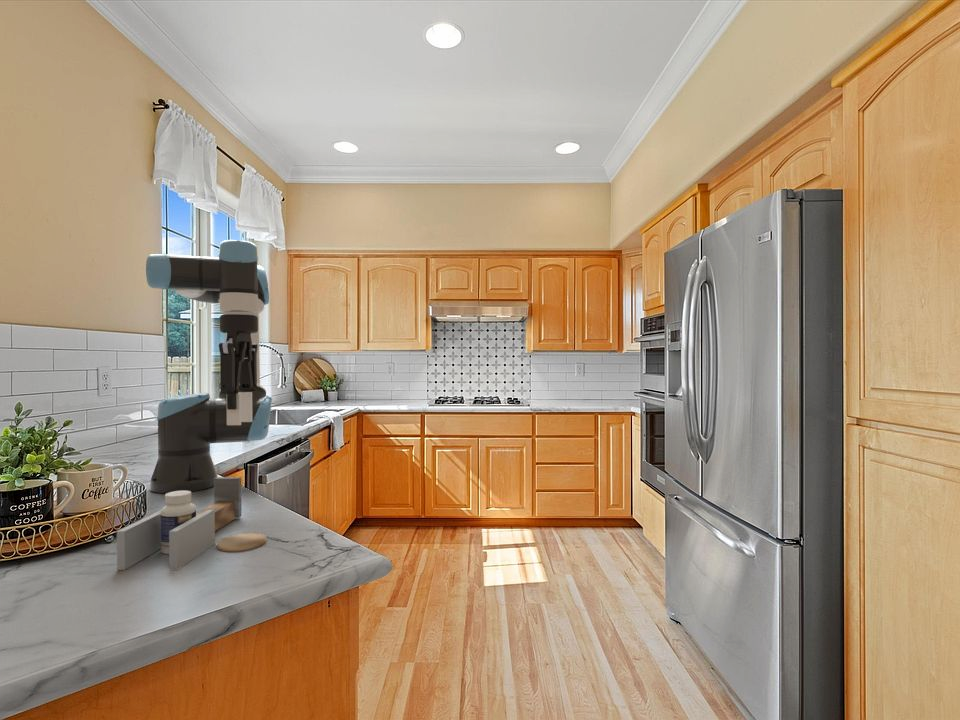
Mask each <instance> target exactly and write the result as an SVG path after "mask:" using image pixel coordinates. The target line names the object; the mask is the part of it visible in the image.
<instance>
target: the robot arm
mask: <svg viewBox="0 0 960 720" xmlns="http://www.w3.org/2000/svg"><path fill="white" fill-rule="evenodd" d="M258 261H259V257H258V248H257V244H255V243H253V242H251V241H247V240H241V239H240V240H239V239H238V240H237V239H228V240H223V241H221V242H220V243H219V251H218V256H217V257H215V256H193V255H183V254H182V255H180V254H178V255H177V254H166V253H161V254H159V253H156V254H155V253H151V254H149V255H148V256H147V257H146V261H145V276H146V282H147V285H148V286H149V287H150V288H152V289H157V290H158V289H161V290H173V291H174V292H176V293H177V295H180V297H183V298H185V299H190V300H193V301H196V302H203V303H211V304H219V312H220V313H222V314H221V315H220V316H219V331H220V333H223V334H225V342H220V343H219V344H218V350H219V355H220V360H219V361H220V363H219V364H220V365H219V368H220V369H219V370H220V372H219V373H220V374H219V375H220V378H219V379H220V382H219V384H220V385H219V387H220V391H219V392H218V393H219V396H218V397H215V398H214V397H212V398H211V395H210V393H209V392H201V393H191V394H186V395H185V394H183V395H179V396H172V397H169V398H165V399H162V400H161V401H160V402H159V403H158V406H157V417H156V420H157V453H158V454H157V460H156V464H155V466H154V470H153V473H152V474H151V478H150V486H149V490H150V491H151V492H154V493H159V494H167V493H169V492H174V491H191V492H195V491H196V492H197V491H201V490H206V489H208V488H212V487H214V478H216V477H219V476H218V472H217V470H216V467H215V464H214V462H213V459H212V456H211V444H222V443H223V444H224V443H225V444H226V443H242V442H243V443H245V442H247V443H251V442H255V441H262V440H265V439H266V438H267V436H268V433H269V427H270V419H271V410H272V403H273V402H272V401H273V397H272V396H269V395H267V390H266V389H265V387H263V386H261V370H260V369H261V367H260V365H261V364H260V361H261V360H260V359H261V358H260V319H259V318H260V315H259V314H260V313H262V311H264V309H265V306H266V305H268V304H269V303H270V291H269V283H268V282H269V281H268V277H267V273H266V270H265V268H264V267H263V266H261V265H258Z"/></svg>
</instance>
